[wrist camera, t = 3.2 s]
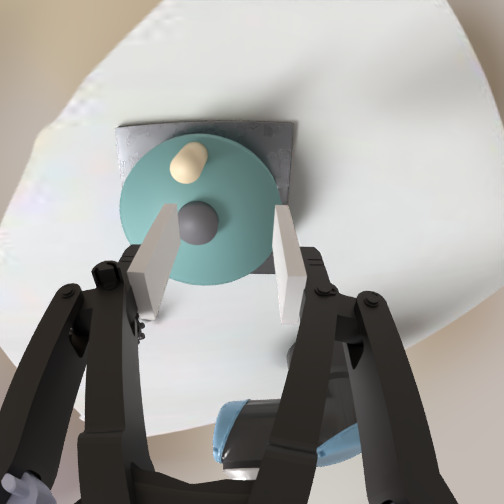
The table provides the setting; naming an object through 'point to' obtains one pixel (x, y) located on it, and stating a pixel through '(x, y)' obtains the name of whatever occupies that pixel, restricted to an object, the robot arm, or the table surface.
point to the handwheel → (205, 205)
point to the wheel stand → (243, 132)
